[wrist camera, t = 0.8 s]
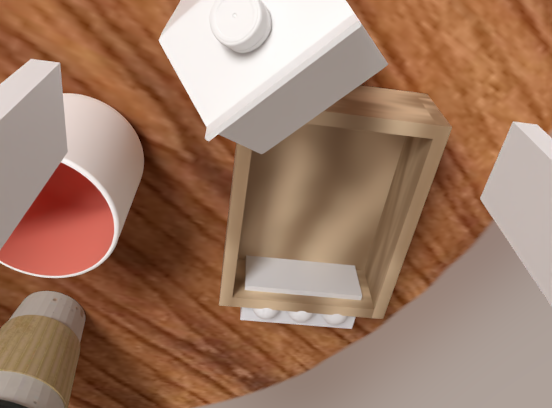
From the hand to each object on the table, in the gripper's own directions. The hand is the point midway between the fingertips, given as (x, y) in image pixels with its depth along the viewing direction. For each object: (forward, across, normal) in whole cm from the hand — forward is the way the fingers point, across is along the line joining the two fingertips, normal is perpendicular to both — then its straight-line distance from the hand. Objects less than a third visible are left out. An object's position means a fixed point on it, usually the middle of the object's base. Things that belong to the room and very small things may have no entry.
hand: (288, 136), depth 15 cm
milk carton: (+23, 0, 0) cm, 23 cm away
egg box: (+22, +6, -24) cm, 34 cm away
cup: (+23, -13, -14) cm, 30 cm away
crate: (+23, +6, -15) cm, 28 cm away
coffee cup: (+23, -17, -33) cm, 44 cm away
